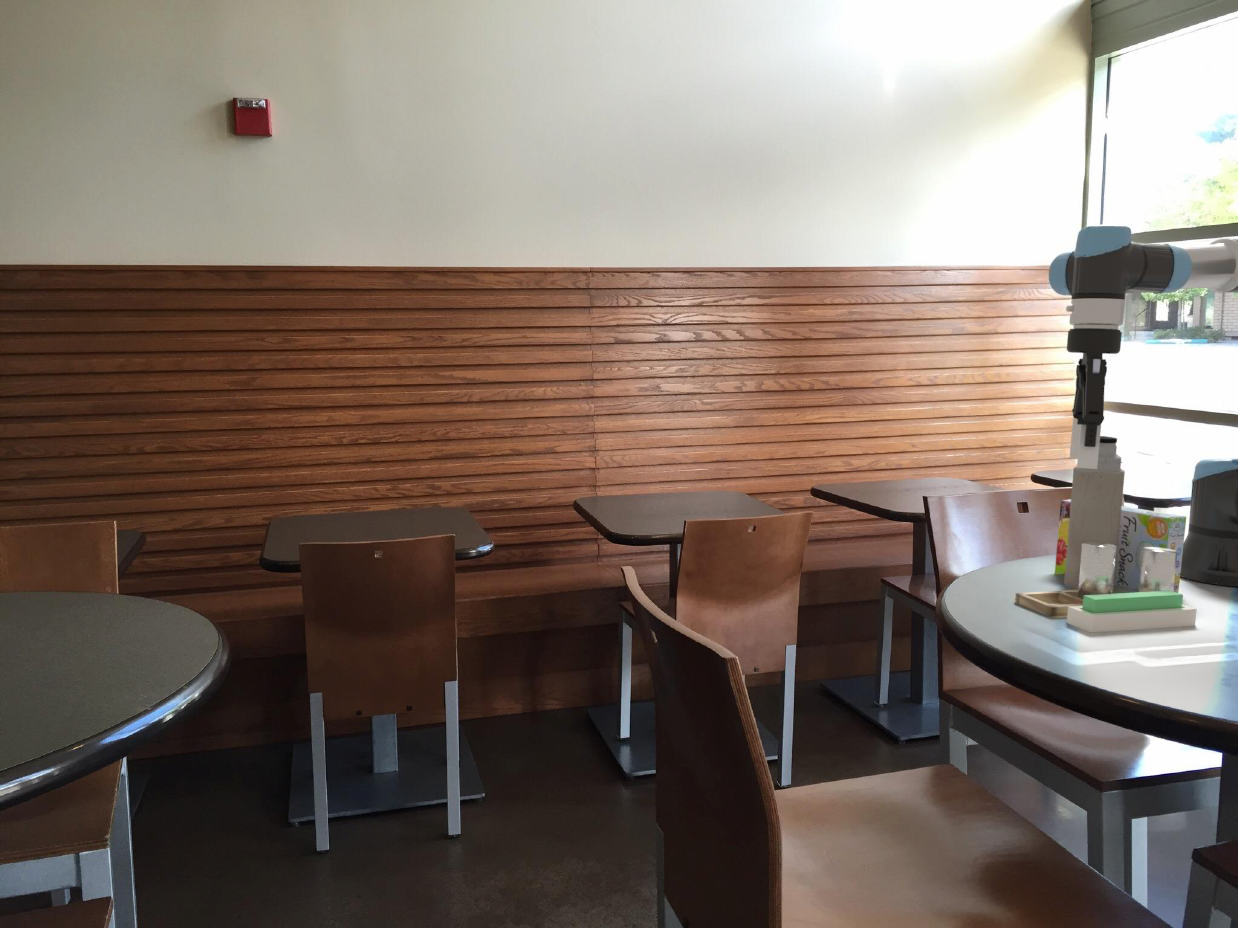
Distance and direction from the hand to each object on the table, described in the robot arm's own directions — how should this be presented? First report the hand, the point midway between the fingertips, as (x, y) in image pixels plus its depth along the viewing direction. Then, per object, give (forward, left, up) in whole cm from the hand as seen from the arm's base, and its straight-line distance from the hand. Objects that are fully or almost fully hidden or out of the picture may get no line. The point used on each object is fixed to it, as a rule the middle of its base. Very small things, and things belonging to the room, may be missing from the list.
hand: (1082, 463), depth 153 cm
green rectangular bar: (-3, +9, -23) cm, 25 cm away
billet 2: (-14, +2, -24) cm, 28 cm away
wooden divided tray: (-1, -1, -25) cm, 25 cm away
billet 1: (-5, -1, -23) cm, 24 cm away
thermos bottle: (-13, -12, -25) cm, 31 cm away
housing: (-3, +9, -25) cm, 27 cm away
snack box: (-21, -15, -25) cm, 36 cm away
